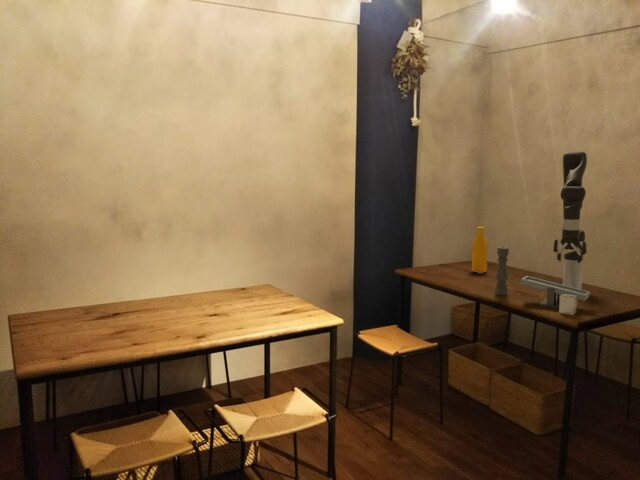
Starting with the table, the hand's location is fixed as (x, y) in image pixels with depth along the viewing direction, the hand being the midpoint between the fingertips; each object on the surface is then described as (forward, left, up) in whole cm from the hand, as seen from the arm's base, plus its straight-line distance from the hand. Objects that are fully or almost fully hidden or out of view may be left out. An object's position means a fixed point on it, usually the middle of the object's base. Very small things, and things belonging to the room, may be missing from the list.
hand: (569, 261), depth 254 cm
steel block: (+12, +3, -22) cm, 25 cm away
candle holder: (-5, -34, -22) cm, 41 cm away
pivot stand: (+2, -6, -22) cm, 23 cm away
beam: (+2, -6, -15) cm, 16 cm away
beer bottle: (-53, -65, -22) cm, 87 cm away
